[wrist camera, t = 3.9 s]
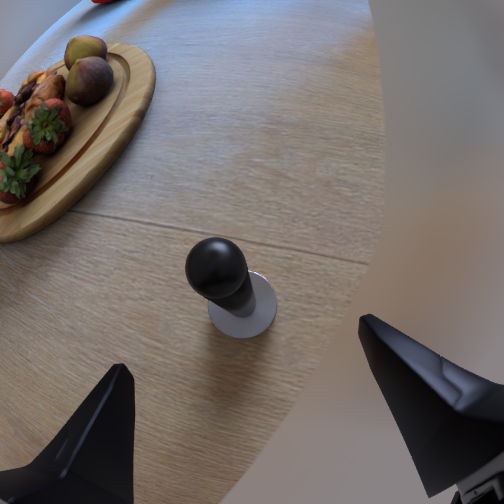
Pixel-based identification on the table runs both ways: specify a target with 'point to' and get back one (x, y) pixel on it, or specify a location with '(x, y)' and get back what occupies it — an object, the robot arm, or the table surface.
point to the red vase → (101, 1)
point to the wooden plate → (68, 130)
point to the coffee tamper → (230, 288)
